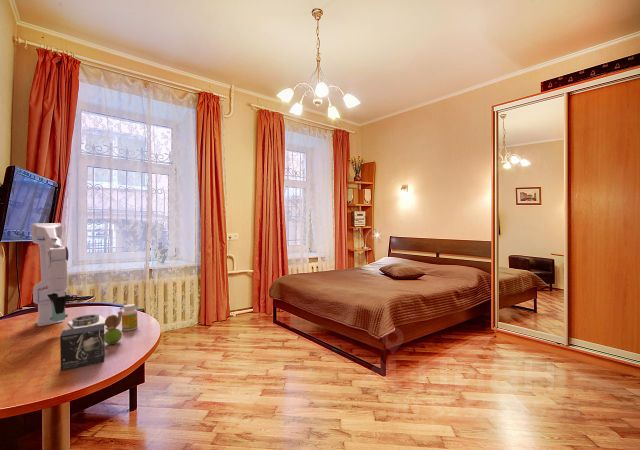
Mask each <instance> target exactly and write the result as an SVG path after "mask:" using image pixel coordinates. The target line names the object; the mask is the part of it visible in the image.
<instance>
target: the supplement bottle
mask: <svg viewBox="0 0 640 450" xmlns="http://www.w3.org/2000/svg"><path fill="white" fill-rule="evenodd" d="M137 328H138V310H137V309H136V304H135V303H128V304H124V305H123V310H122V317H121V330H122V331H123V332H128V331H134V330H136V329H137Z"/></svg>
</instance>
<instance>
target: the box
mask: <svg viewBox="0 0 640 450" xmlns="http://www.w3.org/2000/svg"><path fill="white" fill-rule="evenodd" d="M104 334H105V325H104V324H101V325H95V326H88V327H81V328H75V329H73V328H69V329H63V330H62V331H61V333H60V336H59V339H60V340H59V341H60V342H59V344H60V345H59V346H60V347H59V348H60V350H59V352H60V355H59V356H60V371H61V372H62V371H68V370H72V369H77V368H82V367H86V366H91V365H95V364H96V365H97V364H100V363H101V364H102V363H104V361H105V357H106V351H105V350H106V349H105V348H106V347H105V346H106V345H105V341H104Z"/></svg>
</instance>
